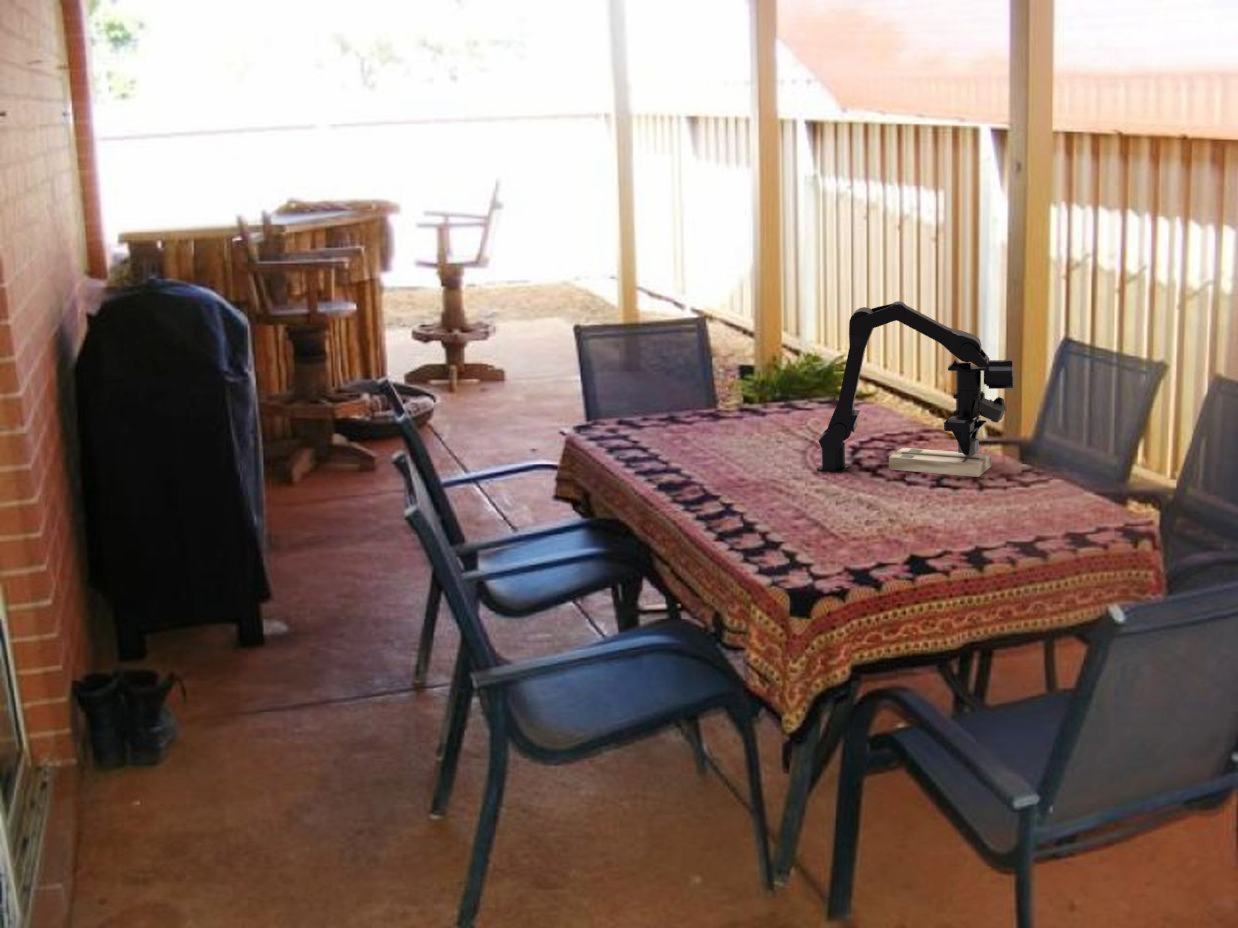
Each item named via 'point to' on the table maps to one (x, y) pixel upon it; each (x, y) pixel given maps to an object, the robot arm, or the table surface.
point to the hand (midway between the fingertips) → (968, 453)
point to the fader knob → (971, 447)
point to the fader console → (939, 462)
